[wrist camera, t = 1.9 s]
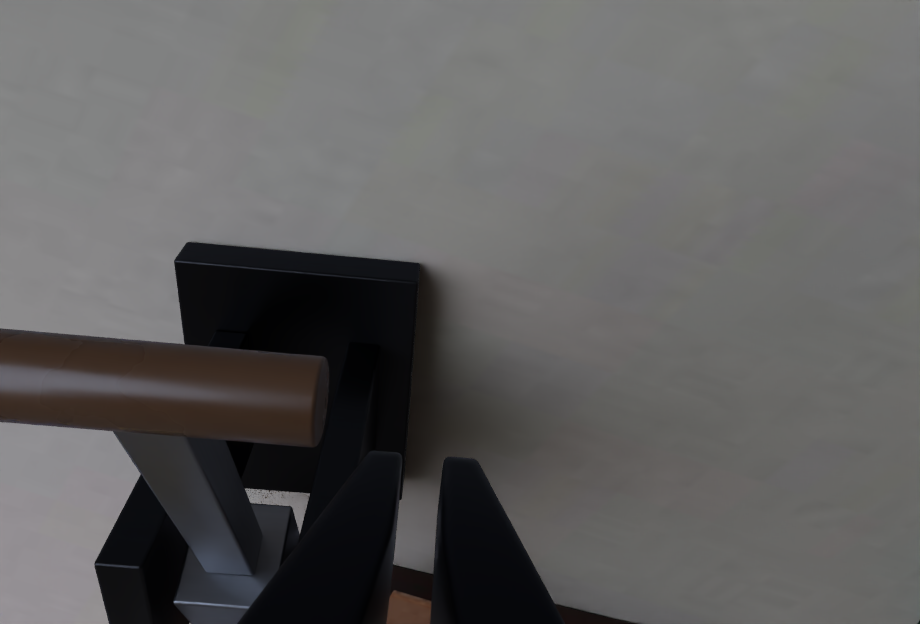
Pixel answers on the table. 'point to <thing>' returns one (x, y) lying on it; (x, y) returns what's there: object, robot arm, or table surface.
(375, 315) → the tap bracket
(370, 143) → the table surface
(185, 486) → the tap lever
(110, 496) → the table surface
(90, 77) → the table surface
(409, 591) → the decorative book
